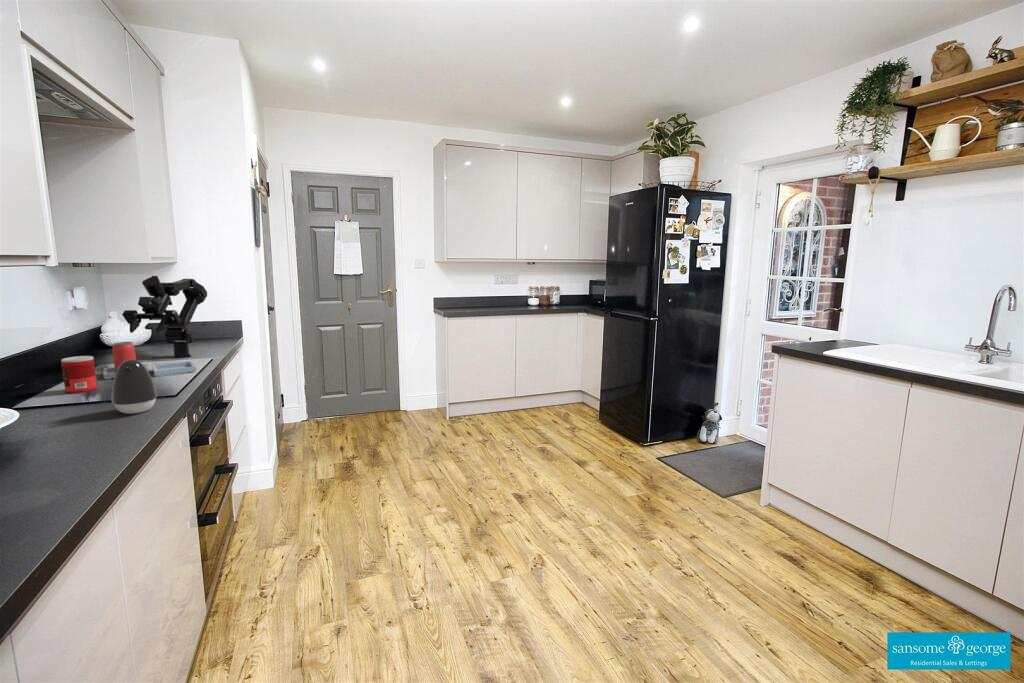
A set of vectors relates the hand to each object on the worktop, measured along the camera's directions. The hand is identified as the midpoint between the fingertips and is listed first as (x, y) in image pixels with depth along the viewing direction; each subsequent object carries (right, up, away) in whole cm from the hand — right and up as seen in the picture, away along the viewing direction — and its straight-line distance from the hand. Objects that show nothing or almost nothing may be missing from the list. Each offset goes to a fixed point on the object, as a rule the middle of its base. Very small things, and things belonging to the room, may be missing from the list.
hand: (143, 332), depth 186 cm
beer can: (-2, -16, -6) cm, 17 cm away
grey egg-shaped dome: (+36, -24, -49) cm, 65 cm away
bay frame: (-2, -16, -6) cm, 17 cm away
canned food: (+2, -20, -29) cm, 35 cm away
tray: (+12, -15, 0) cm, 20 cm away
